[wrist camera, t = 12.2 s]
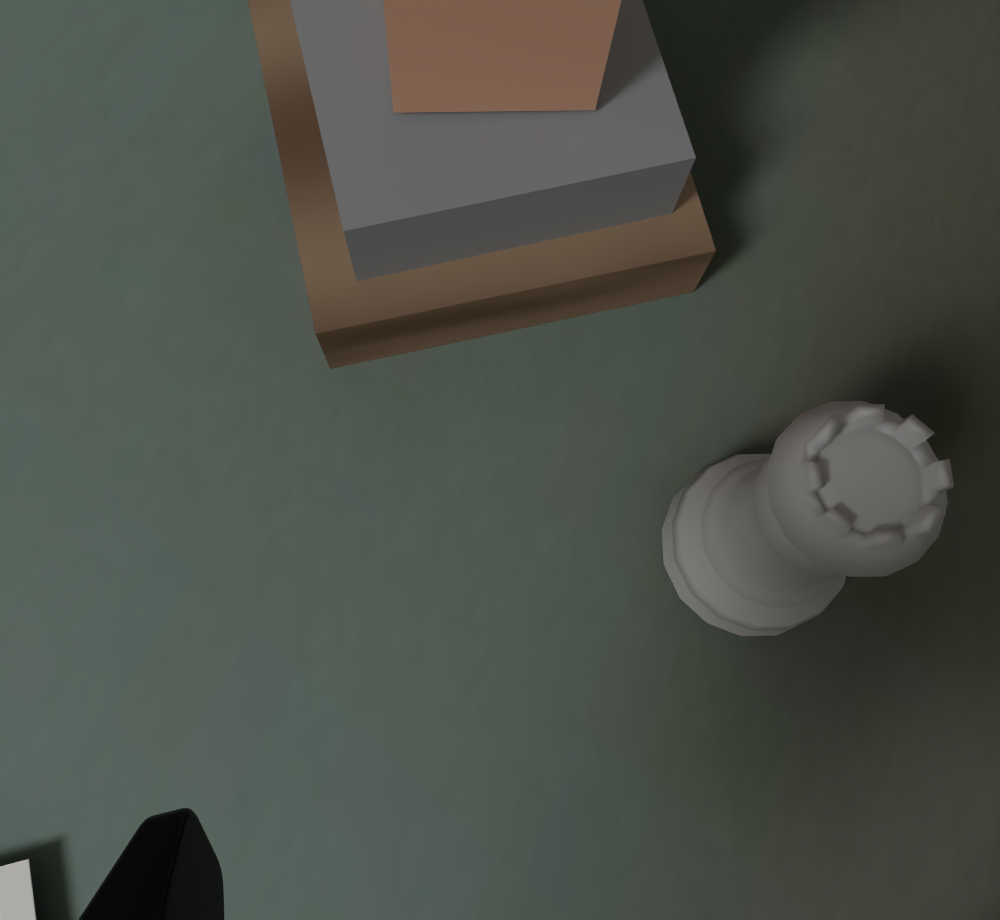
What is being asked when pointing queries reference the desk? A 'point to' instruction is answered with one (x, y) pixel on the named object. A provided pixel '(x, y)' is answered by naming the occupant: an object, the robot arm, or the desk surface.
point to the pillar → (498, 54)
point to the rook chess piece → (805, 517)
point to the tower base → (460, 283)
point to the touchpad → (16, 892)
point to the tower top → (485, 149)
